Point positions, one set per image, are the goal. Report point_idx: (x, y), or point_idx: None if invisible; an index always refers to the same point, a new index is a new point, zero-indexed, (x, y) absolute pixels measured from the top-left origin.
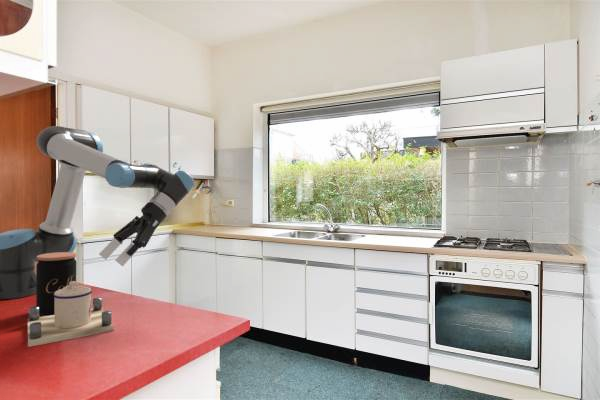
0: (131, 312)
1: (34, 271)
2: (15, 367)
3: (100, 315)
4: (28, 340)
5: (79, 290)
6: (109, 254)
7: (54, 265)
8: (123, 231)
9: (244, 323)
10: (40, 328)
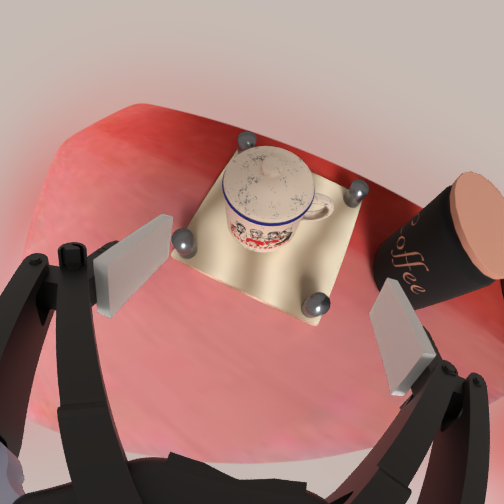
0: (246, 365)
1: None
2: (186, 120)
3: (259, 282)
4: None
5: (237, 174)
6: (377, 327)
7: (441, 198)
8: (425, 415)
9: None
10: (239, 146)
